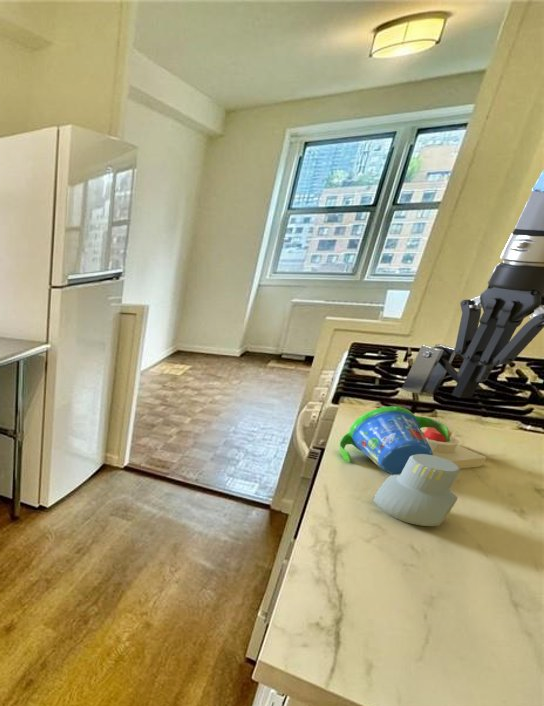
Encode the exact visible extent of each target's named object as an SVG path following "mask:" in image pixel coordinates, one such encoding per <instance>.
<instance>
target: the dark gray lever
mask: <svg viewBox="0 0 544 706" xmlns="http://www.w3.org/2000/svg"><path fill="white" fill-rule="evenodd" d="M433 347H434V348H438V349H442V350H444V349H443V348H442V347H435V346H433ZM446 356H448V354H447V353H446V352H445V351H443V353H442V355H441V357H440V359H439V361H438V362H439V363H440V364H441V366H442V367H443V368H444V369H445V370H446V371H447V372H446V373H448V375H450V377H451V378H452V379H453V380H454V382H456V384H457V383H458V381H459V379H460V377H458V376H457V373H458V370H456V368H454V366H453V365H452V363H451V364H450V363H449V362H448V361H447V360H446V359H445V357H446ZM454 389H455V388H453V390H452V391H454ZM483 389H484V387H482V386H481V385H480V384H479V385H478V386H477V388H476V390H475V392H474V394H477V393H479V392H481V391H482V390H483Z"/></svg>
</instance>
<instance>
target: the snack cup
mask: <svg viewBox="0 0 544 706" xmlns="http://www.w3.org/2000/svg"><path fill="white" fill-rule="evenodd" d="M428 427H431V428H435V429H436V430H437V431H438V432H439V433H440V434H441V435H442V436H444V437H445V438H446V441H447V442H449V441H450V434H449V431H450V430H449V428H448V426H446V424H444V423H442V422H440V421H438V420H436V419H434V418H430V417H426V416H419V415H415V414H414V413H413V412H412V411H410V409H407V408H405V407H401V406H383V407H378V408H375V409H372V410H370V411H367V412H365V413H364V414H362V415H361V416H359V417H358V418H357V419H356V420H355V421H354V422H353V423H352V424H351V426H350V427H349V429H348V432H347V433H346V434H343V436H342V437H341V438H340V440H339V451H340V455H341V457H342V458H343V459H344V460H345V461H346V462H348V463H351V462H352V457H351V455H350V453H349V452H348V450H346V449H345V448H346V446H348V445H352V446H354V448H355V449H357V450H358V451H360V452H362V453H364V455H365V456H367V457H368V458H369V459H370V460H371V461H372V462H373V463H374V464H375V465H376V466H377V467H378V468H379V469H381V470H382V471H384V472H386V473H389V474H390V475H400V474H401V472H402V471H403V469H404V467H405V465H406V463H407V461H408V459H409V458H410V456H412V455H416V454H427V455H433V452H432V450H431V447H430V445H429V443H428V442H427V440H426V438H425V436H424V434H423V432H422V431H421V430H422V428H428Z"/></svg>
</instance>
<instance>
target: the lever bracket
mask: <svg viewBox="0 0 544 706" xmlns="http://www.w3.org/2000/svg"><path fill="white" fill-rule="evenodd" d="M434 347H442V348H443V349H444V350H442V349H438V348H434ZM443 351H445V352H446V353H447V354H448V356H446V357H445V359H446V360H447V361H448V362H449V363H450V364H451V365H452V363H453V360H454V358H455V357H456V354H455V352H454V351H455V347H451V346H448V345H445V344H440V343H436V344H435V345H434V346H431V345H427V344H421V346H420V348H419V350H418V352H417V355H416V357H415V358H414V361H413V363H412V365H411V368H410V370H409V372H408V373H407V375H406V378H405V380H404V382H403V384H402V387H401V389H402V390H403V391H407V392H410V393H413V394H415V395H418V396H422V395H423V393H424V392H427V393H429V394H431V395H433V394H436V393H437V392H438V390H439V388H440V386H441V384H442V381H443V380H444V377H445V376H446V374H447V373H448V372H447V371H446V370H445V369H444V368H443V367H442V366H441V364H440V363H439V362H438V361H439V359H440V357H441V355H442V353H443Z"/></svg>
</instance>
